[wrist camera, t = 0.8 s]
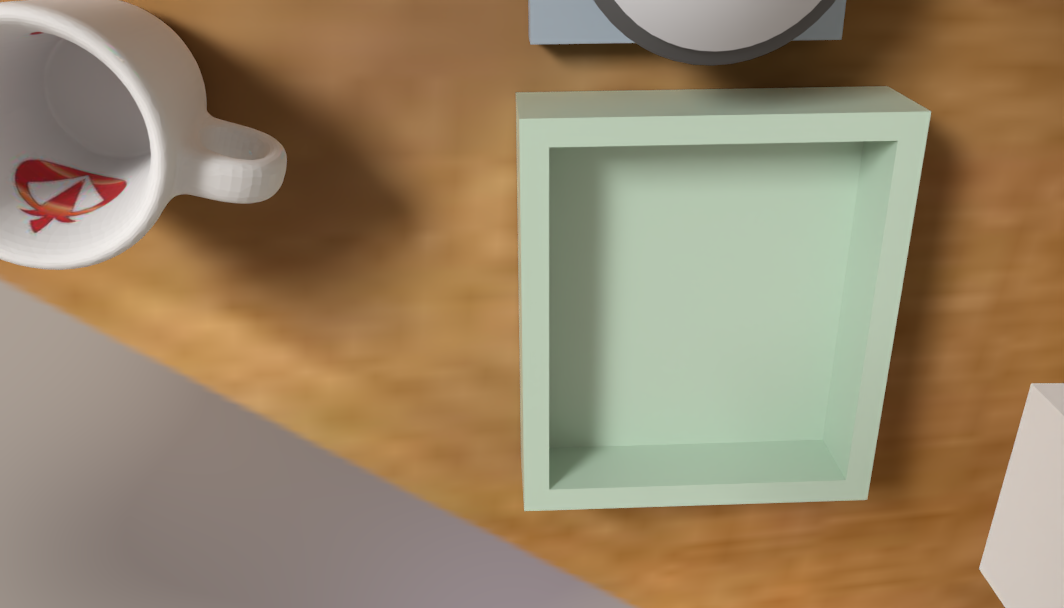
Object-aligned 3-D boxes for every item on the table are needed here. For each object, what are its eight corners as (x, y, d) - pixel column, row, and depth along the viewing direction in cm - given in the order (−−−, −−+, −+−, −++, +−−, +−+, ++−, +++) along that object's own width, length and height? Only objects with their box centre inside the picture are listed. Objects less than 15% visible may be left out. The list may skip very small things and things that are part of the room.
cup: (330, 35, 35) (289, 82, 28) (286, 234, 38) (240, 323, 31) (18, -58, 33) (-111, -34, 26) (-1, 159, 37) (-122, 234, 29)
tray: (515, 92, 36) (519, 118, 33) (887, 86, 37) (931, 111, 33) (521, 455, 43) (524, 510, 39) (835, 445, 43) (867, 499, 40)
